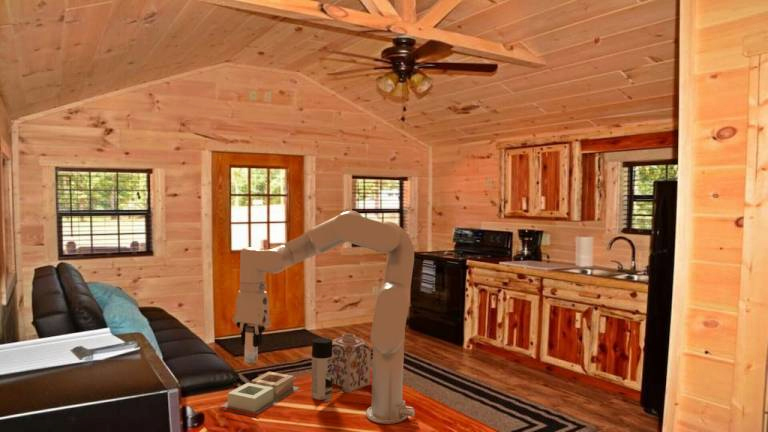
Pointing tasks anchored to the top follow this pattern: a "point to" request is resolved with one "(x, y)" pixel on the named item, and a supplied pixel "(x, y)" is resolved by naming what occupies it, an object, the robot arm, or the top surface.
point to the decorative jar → (351, 363)
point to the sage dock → (250, 396)
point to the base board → (263, 406)
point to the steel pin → (250, 345)
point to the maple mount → (275, 382)
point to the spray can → (322, 369)
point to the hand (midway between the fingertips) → (251, 344)
